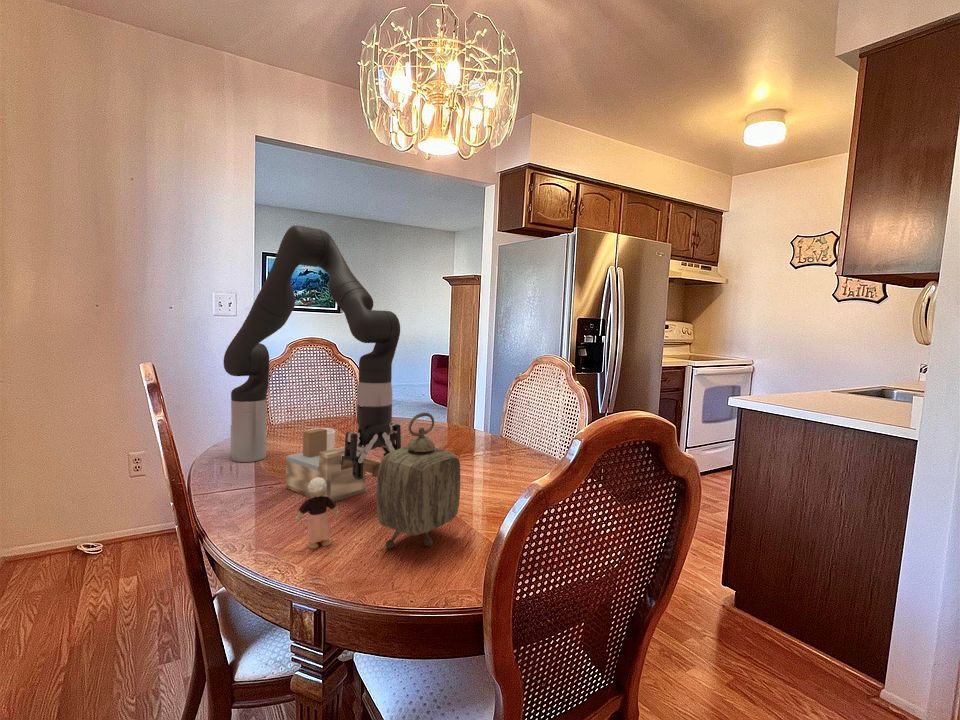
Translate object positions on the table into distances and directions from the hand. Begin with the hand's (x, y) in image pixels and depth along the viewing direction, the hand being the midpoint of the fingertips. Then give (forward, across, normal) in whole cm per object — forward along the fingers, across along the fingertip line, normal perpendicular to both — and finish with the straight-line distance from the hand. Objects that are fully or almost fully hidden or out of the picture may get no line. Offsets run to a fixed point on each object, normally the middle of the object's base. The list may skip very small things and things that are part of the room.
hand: (373, 474), depth 113 cm
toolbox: (+8, 0, -17) cm, 19 cm away
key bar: (0, 0, -4) cm, 4 cm away
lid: (+1, 0, -19) cm, 19 cm away
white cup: (+8, -11, -34) cm, 37 cm away
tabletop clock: (+8, +6, +20) cm, 22 cm away
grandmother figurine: (+8, +19, +6) cm, 21 cm away
